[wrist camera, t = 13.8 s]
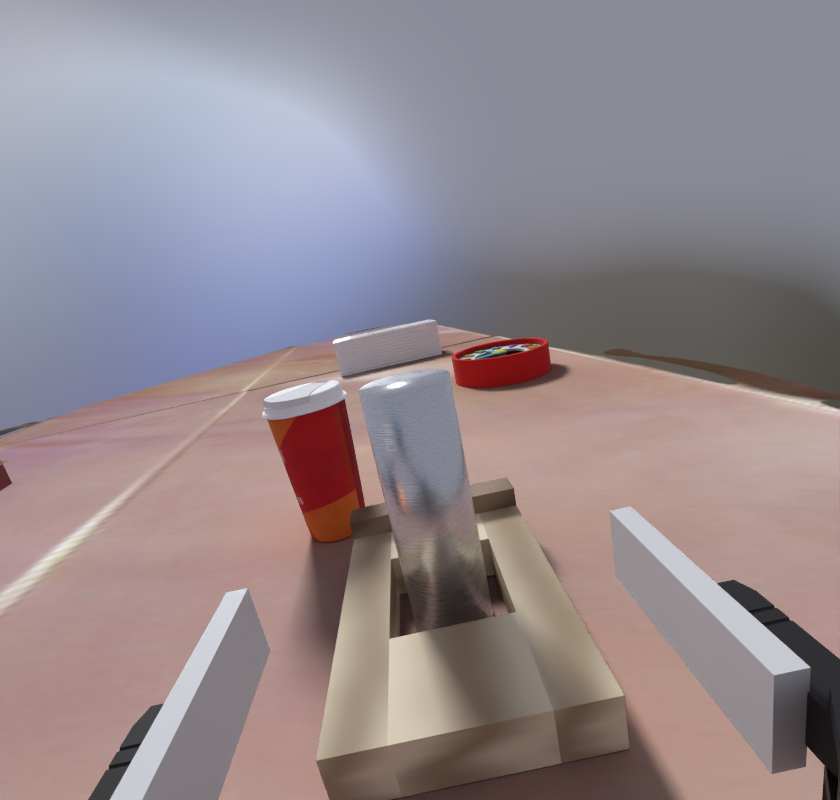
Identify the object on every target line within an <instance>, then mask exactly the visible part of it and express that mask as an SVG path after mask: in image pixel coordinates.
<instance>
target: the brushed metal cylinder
mask: <svg viewBox="0 0 840 800" xmlns="http://www.w3.org/2000/svg"><path fill="white" fill-rule="evenodd" d="M358 392H359V396H360V400H361V404H362V408H363V413H364V417H365V421H366V425H367V429H368V433H369V437H370V441H371V446H372V450H373V454H374V458H375V462H376V466H377V470H378V474H379V479H380V483H381V487H382V491H383V495H384V499H385V503H386V507H387V512H388V516H389V520H390V524H391V528H392V532H393V536H394V540H395V545H396V549H397V553H398V557H399V561H400V565H401V569H402V573H403V578H404V582H405V586H406V590H407V594H408V598H409V602H410V606H411V611H412V615H413V619H414V623H415V627H416V631H417V633H419V632H424V631H429V630H434V629H438V628H443V627H448V626H453V625H457V624H462V623H467V622H472V621H476V620H481V619H486V618H491V617H494V614H493V609H492V604H491V598H490V593H489V587H488V582H487V576H486V571H485V565H484V560H483V555H482V549H481V544H480V538H479V533H478V527H477V522H476V516H475V511H474V506H473V500H472V495H471V489H470V484H469V478H468V473H467V467H466V462H465V457H464V451H463V446H462V440H461V435H460V429H459V424H458V418H457V413H456V408H455V402H454V397H453V391H452V386H451V380H450V375H449V372H448V371H447V370H443V369H426V370H417V371H411V372H405V373H400V374H396V375H392V376H388V377H385V378H382V379H378V380H376V381H373V382H371V383H368V384H366V385H364V386H363V387H361V388H360V389H359V391H358Z"/></svg>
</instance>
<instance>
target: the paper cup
mask: <svg viewBox="0 0 840 800" xmlns="http://www.w3.org/2000/svg"><path fill="white" fill-rule="evenodd" d="M346 396H347V393H346V392H345V391H344V390H342V388H341V386H340V384H339V382H338V381H335V380H331V381H329V382H328V381H321V382H316V383H313V382H312V383H308V384H303V385H299V386H295V387H292V388H288V389H285V390H282V391H280V392H277V393H274V394H272V395H270V396H268V397H267V398H265V399H264V411H263V413H262V417H263V418H265V419H267V420H268V423H269V425H270V428H271V431H272V433H273V436H274V439H275V441H276V444H277V447H278V449H279V452H280V455H281V457H282V460H283V463H284V465H285V468H286V471H287V473H288V476H289V479H290V481H291V484H292V487H293V489H294V492H295V495H296V497H297V500H298V503H299V505H300V508H301V510H302V513H303V516H304V518H305V521H306V523H307V526H308V528H309V531H310V533H311V535H312V537H313V538H314V539H315V540H316V541H319V542H335V541H339V540H343V539H345V538H348V537H350V536H352V531H351V527H350V524H349V522H350V517H351V512H352V510H353V509H358V508H363V507H365V503H364V497H363V492H362V486H361V481H360V476H359V471H358V465H357V460H356V455H355V450H354V445H353V440H352V434H351V429H350V424H349V419H348V414H347V409H346V404H345V398H346Z"/></svg>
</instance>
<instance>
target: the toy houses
mask: <svg viewBox="0 0 840 800" xmlns="http://www.w3.org/2000/svg"><path fill="white" fill-rule="evenodd" d="M1 461H2V460H0V491H1V490H2V489H4V488H5V487H7V486H8V485H10V484H11V483H12V482H11V480H10V478H9V476H8V474H7V472H6V470H5V468H4V466H3V464H2V463H5V462H7V461H2V462H1Z"/></svg>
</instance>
